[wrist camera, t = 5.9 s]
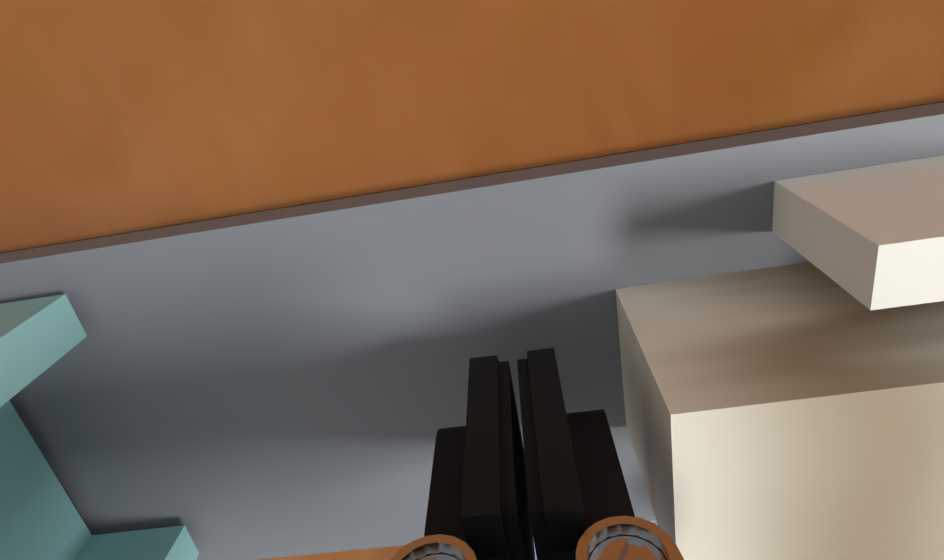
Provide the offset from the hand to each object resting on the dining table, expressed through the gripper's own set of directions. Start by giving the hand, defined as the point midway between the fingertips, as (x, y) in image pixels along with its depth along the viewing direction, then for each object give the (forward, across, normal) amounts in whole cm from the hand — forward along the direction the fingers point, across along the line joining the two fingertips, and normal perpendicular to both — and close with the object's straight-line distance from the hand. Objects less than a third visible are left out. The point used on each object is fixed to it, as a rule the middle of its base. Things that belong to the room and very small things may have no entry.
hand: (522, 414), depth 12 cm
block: (+1, -5, 0) cm, 5 cm away
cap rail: (+2, +1, 0) cm, 2 cm away
